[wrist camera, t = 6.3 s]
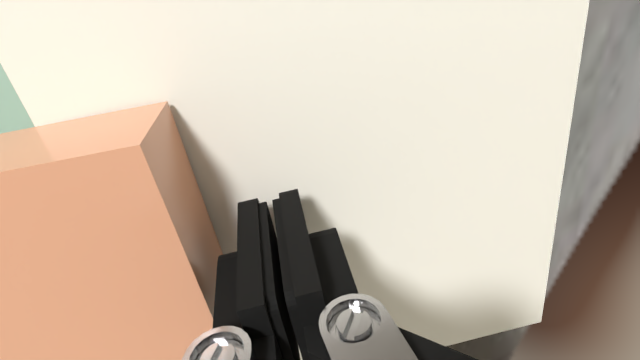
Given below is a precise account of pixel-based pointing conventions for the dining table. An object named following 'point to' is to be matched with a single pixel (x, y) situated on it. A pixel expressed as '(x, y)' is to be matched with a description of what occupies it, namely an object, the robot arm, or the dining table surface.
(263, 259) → the robot arm
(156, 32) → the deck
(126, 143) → the tile
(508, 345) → the dining table surface
